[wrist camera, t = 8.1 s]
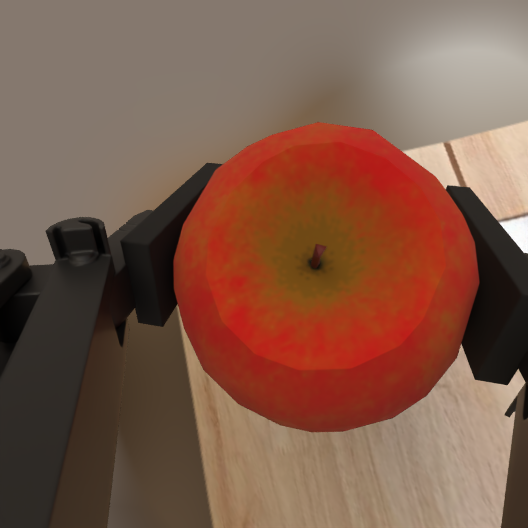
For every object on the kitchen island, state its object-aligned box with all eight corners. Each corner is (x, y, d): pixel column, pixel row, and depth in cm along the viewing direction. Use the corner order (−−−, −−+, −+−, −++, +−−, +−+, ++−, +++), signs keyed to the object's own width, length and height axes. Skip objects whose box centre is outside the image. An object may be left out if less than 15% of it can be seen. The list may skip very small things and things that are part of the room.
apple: (220, 230, 18) (105, 83, 8) (383, 205, 18) (495, 5, 7) (236, 401, 16) (113, 508, 6) (421, 381, 16) (652, 462, 5)
